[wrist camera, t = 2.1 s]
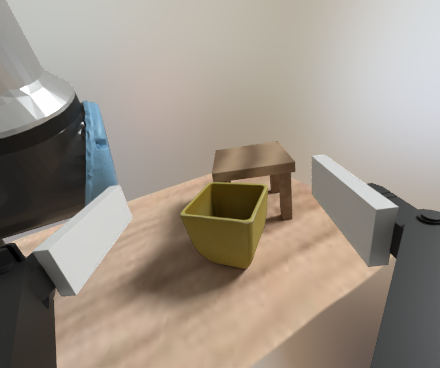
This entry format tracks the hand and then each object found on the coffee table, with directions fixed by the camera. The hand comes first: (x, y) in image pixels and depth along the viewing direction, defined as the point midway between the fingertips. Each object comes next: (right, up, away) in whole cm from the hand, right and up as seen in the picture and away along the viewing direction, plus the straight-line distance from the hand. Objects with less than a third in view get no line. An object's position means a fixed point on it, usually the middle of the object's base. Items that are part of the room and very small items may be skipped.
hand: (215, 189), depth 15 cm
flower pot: (+3, -10, +16) cm, 19 cm away
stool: (+7, -4, +26) cm, 27 cm away
